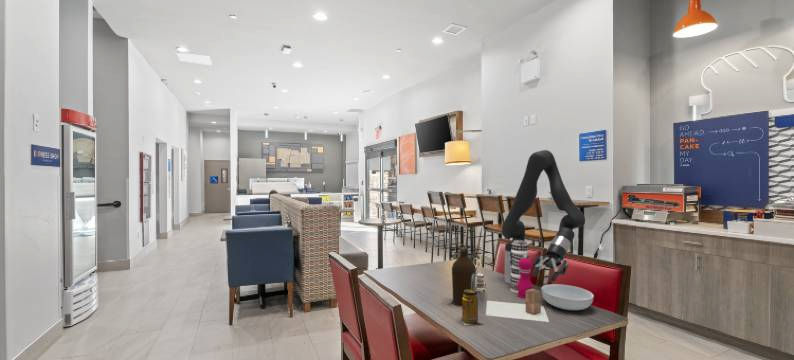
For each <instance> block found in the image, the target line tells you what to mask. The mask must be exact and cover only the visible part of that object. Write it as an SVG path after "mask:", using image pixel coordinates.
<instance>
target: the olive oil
mask: <svg viewBox="0 0 794 360" xmlns="http://www.w3.org/2000/svg"><path fill="white" fill-rule="evenodd" d="M459 250H460V252H459V254H460V255H459V256H458V257H457V259H456V260H455V261H454V262H453V263H452V266H451V277H452V280H451V281H452V282H451V283H452V284H451V285H452V286H451V287H452V304H454V305H455V306H458V307H462V298H463V297H464V296H463V295H464V293H463V292H464V290H467V289H471V290H475V291H476V277H477V276H476V275H477V268H476V265H475V263H474V262H473V261H472V259H471V258H470V257H469V255H468V254H469V251H468V250H469V249H468V247H465V246H463V247H460V249H459Z"/></svg>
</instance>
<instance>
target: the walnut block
mask: <svg viewBox="0 0 794 360" xmlns="http://www.w3.org/2000/svg"><path fill="white" fill-rule="evenodd" d="M525 304H526V312H528V313H530V314H533V315H535V314H538V313H541V306H542V291H541V290H540V289H539V290H538V289H535V288H533V289H530V290H526V299H525Z"/></svg>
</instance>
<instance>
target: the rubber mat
mask: <svg viewBox="0 0 794 360" xmlns="http://www.w3.org/2000/svg"><path fill="white" fill-rule="evenodd" d="M545 309H546V308H545V307H544V305H541V313H538V314H535V315H533V314H530V313H528V312H526V303H516V302H514V303H513V302H505V301H496V300H495V301H494V300H486V309H485V310H486V311H485V316H489V317H501V318H506V319H507V318H508V319H516V320H517V319H518V320H525V321H526V320H527V321H535V322H536V321H537V322H546V323H550V321H549V318H548V315H547V312H546V310H545Z"/></svg>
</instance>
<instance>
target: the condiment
mask: <svg viewBox="0 0 794 360" xmlns="http://www.w3.org/2000/svg"><path fill="white" fill-rule="evenodd" d="M463 293H464V295H463V296H464V297H463V298H462V306H461V309H462V311H461V312H462V313H461V315H462V316H461V317H462V319H460V321H461V323H462V324H463V325H464V326H476V325H478V326H479V325H480V326H481V325H483V323H481V322H479V321H478V320H479V318H478V317H479V315H478V314H479V298H478V292H477V291H476V289H475V290H471V289H467V290H464V292H463Z"/></svg>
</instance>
